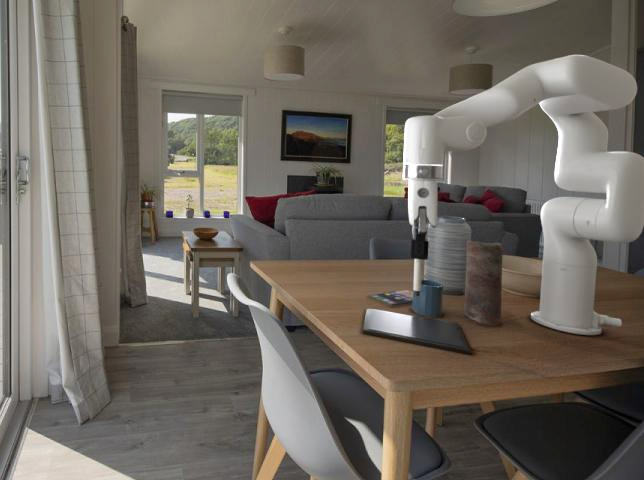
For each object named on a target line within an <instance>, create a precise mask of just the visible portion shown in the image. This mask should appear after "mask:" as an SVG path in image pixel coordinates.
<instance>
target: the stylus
mask: <svg viewBox="0 0 644 480" xmlns="http://www.w3.org/2000/svg"><path fill="white" fill-rule="evenodd" d="M413 261H414V265H413V280H414V284H413V283H412V291H413V290H415V296H419V291H421V282H422V279H423V259H414V260H413Z"/></svg>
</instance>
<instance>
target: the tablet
mask: <svg viewBox="0 0 644 480" xmlns="http://www.w3.org/2000/svg"><path fill="white" fill-rule="evenodd" d="M362 333H363V334H365V335H368V336H374V337H379V338H384V339H390V340H395V341H399V342H404V343H408V344H415V345H420V346H425V347H430V348H435V349H439V350H445V351H446V350H447V351H451V352H455V353H460V354H465V355H471V352H472V351H471V348H470V347H469V344H468V342H467V340H466V337H465V335H464V334H463V331H462V329H461V327H460V324H459V323H457V322H451V321H445V320H439V319H433V318H428V317H422V316H417V315H409V314H404V313H398V312H394V311H393V312H392V311H388V310H387V311H386V310H381V309H374V308H369V307H367V308H366V311H365V317H364V324H363V331H362Z"/></svg>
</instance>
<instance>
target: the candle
mask: <svg viewBox="0 0 644 480" xmlns="http://www.w3.org/2000/svg"><path fill="white" fill-rule="evenodd" d="M503 251H504V248H503V244H502V243H499V242H494V243H489V242H480V241H477V240H471V241H467V265H466V286H465V290H464V314H465V316H467V317H468V318H469V319H470V320H473V321H475V322H477V323H479V324H482V325H483V324H484V325H491V326H492V325H493V326H498V325H499V324H500V323H501V321H502V285H503V284H502V283H503V282H502V281H503Z"/></svg>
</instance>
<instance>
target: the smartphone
mask: <svg viewBox="0 0 644 480" xmlns="http://www.w3.org/2000/svg"><path fill="white" fill-rule="evenodd" d="M368 297H370V298H372V299H375V300H377V301H379V302H382V303H384V304H387V305H388V306H398V305H408V304H412V298H413V290H409V289H402V290H401V289H399V290H395V291H389V292H381V293H376V294H369V295H368Z"/></svg>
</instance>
